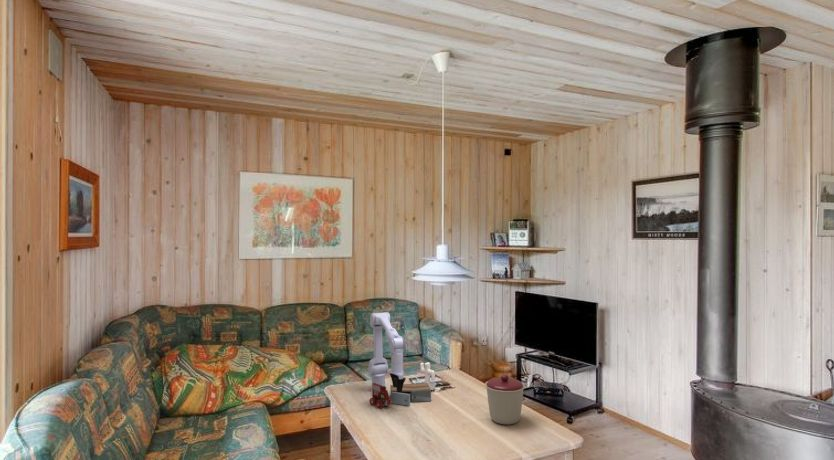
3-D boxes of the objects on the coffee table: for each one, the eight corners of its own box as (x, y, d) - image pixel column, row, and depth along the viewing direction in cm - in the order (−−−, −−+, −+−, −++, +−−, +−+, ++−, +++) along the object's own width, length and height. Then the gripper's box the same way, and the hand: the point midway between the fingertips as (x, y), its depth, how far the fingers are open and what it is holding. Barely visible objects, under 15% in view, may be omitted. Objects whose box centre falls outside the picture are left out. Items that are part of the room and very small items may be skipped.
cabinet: (390, 396, 247) (390, 384, 247) (427, 393, 250) (427, 382, 250) (392, 404, 235) (392, 392, 235) (431, 402, 238) (431, 390, 238)
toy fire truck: (383, 411, 227) (382, 389, 227) (367, 404, 236) (367, 384, 236) (393, 407, 232) (393, 386, 232) (377, 400, 240) (377, 380, 240)
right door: (392, 402, 237) (392, 391, 237) (410, 405, 233) (409, 394, 233) (390, 403, 235) (390, 393, 235) (408, 406, 231) (408, 395, 231)
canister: (478, 415, 220) (478, 371, 220) (512, 410, 226) (511, 367, 226) (497, 431, 203) (496, 382, 203) (533, 425, 208) (532, 378, 209)
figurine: (430, 393, 250) (430, 365, 250) (416, 390, 256) (416, 362, 256) (438, 390, 256) (438, 362, 256) (425, 386, 262) (424, 360, 262)
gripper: (385, 358, 235) (386, 385, 235) (392, 366, 221) (393, 395, 221) (399, 357, 237) (399, 384, 237) (407, 365, 223) (407, 393, 223)
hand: (397, 389), depth 229 cm, fingers open, 7 cm apart
